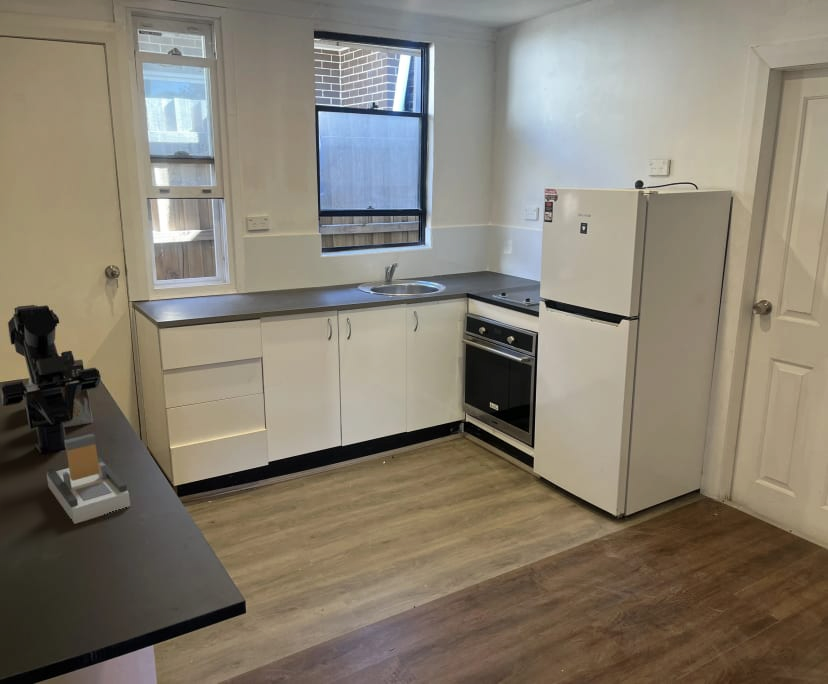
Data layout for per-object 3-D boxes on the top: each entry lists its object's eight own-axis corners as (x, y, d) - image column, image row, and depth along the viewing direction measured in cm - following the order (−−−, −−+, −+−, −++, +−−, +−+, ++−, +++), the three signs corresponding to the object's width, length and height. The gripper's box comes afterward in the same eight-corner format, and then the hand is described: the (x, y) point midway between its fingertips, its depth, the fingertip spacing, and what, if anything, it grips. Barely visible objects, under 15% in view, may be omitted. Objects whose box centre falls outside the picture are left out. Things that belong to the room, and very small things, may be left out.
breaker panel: (48, 487, 136) (44, 460, 135) (99, 473, 143) (96, 447, 141) (74, 523, 122) (70, 494, 120) (130, 506, 128) (126, 477, 126)
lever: (69, 478, 130) (64, 440, 128) (97, 470, 133) (92, 433, 131) (72, 481, 129) (66, 442, 127) (100, 473, 132) (95, 436, 130)
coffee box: (91, 415, 178) (83, 358, 174) (92, 423, 173) (84, 364, 169) (53, 422, 174) (44, 363, 170) (53, 429, 169) (43, 369, 165)
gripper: (-6, 347, 133) (12, 417, 128) (93, 332, 144) (113, 396, 140) (-7, 372, 141) (11, 438, 137) (87, 356, 152) (106, 416, 148)
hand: (62, 421), depth 140 cm, fingers open, 3 cm apart
